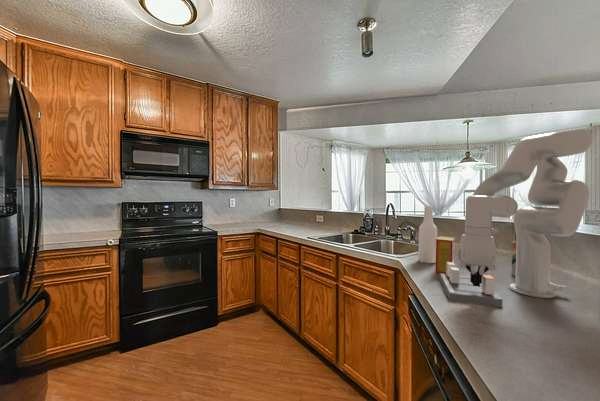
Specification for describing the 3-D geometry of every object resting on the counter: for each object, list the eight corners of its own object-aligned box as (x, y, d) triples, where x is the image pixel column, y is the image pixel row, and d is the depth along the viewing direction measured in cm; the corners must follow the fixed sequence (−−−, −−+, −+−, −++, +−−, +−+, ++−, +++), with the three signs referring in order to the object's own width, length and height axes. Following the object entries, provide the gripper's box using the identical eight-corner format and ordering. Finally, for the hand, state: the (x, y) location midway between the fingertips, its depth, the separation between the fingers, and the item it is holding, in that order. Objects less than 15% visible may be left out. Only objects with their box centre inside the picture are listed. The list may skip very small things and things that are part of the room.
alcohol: (433, 260, 144) (434, 205, 144) (438, 264, 136) (440, 206, 135) (416, 259, 146) (417, 205, 145) (420, 263, 137) (421, 205, 137)
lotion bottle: (521, 274, 119) (523, 230, 119) (531, 278, 114) (532, 232, 113) (508, 273, 120) (509, 230, 120) (517, 277, 114) (518, 232, 114)
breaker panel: (480, 283, 107) (481, 277, 107) (502, 307, 84) (502, 299, 84) (439, 278, 112) (439, 272, 112) (449, 300, 90) (449, 292, 90)
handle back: (453, 274, 109) (453, 262, 108) (455, 277, 105) (455, 265, 105) (446, 273, 109) (446, 261, 109) (447, 276, 106) (448, 264, 106)
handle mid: (457, 280, 101) (457, 267, 101) (459, 283, 97) (459, 270, 97) (449, 279, 102) (449, 266, 102) (451, 283, 98) (451, 269, 98)
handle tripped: (490, 290, 91) (490, 275, 90) (494, 294, 87) (494, 279, 87) (481, 289, 91) (482, 274, 91) (485, 293, 88) (485, 278, 88)
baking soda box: (451, 275, 117) (452, 239, 117) (435, 272, 121) (436, 238, 121) (454, 270, 125) (455, 237, 124) (439, 268, 129) (439, 235, 128)
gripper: (500, 232, 90) (498, 284, 91) (450, 229, 96) (449, 279, 96) (508, 234, 83) (506, 292, 84) (454, 231, 89) (452, 285, 89)
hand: (475, 285), depth 90 cm, fingers closed
